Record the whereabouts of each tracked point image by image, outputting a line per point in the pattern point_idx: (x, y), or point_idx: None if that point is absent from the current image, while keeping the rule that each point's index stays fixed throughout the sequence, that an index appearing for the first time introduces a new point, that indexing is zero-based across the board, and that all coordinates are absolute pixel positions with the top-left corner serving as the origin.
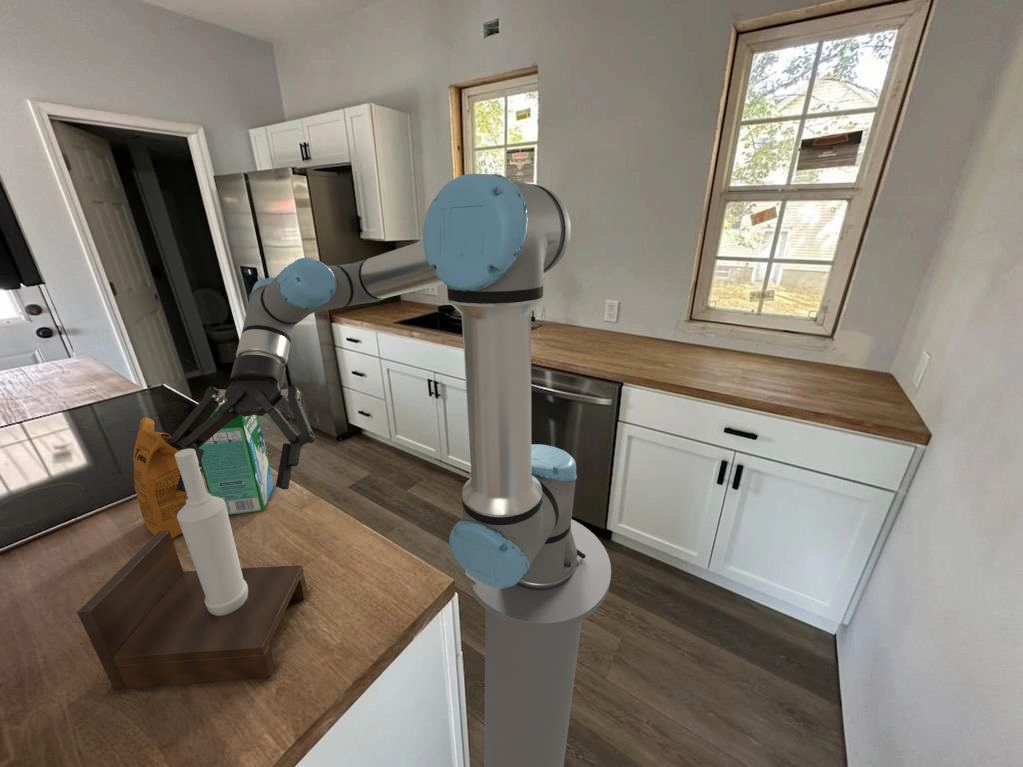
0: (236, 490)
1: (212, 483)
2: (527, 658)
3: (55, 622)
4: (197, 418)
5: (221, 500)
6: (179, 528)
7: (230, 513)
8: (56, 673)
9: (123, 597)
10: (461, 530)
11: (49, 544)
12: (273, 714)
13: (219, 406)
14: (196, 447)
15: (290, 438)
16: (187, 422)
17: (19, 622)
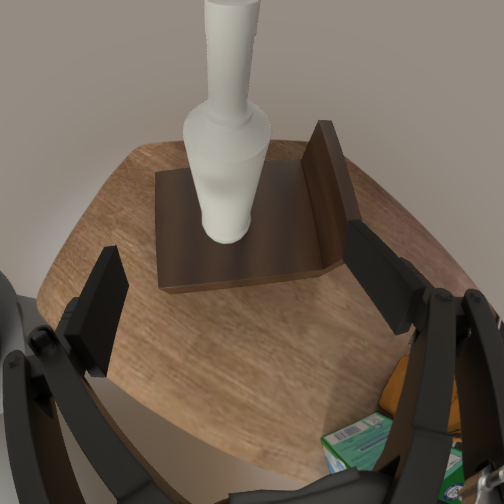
0: (364, 439)
1: None
2: (25, 296)
3: (410, 244)
4: (484, 373)
5: (194, 142)
6: (398, 370)
7: (360, 420)
8: (362, 196)
9: (321, 163)
10: None
11: None
12: (149, 167)
13: None
14: (408, 304)
15: (56, 354)
16: (493, 342)
17: (433, 243)
